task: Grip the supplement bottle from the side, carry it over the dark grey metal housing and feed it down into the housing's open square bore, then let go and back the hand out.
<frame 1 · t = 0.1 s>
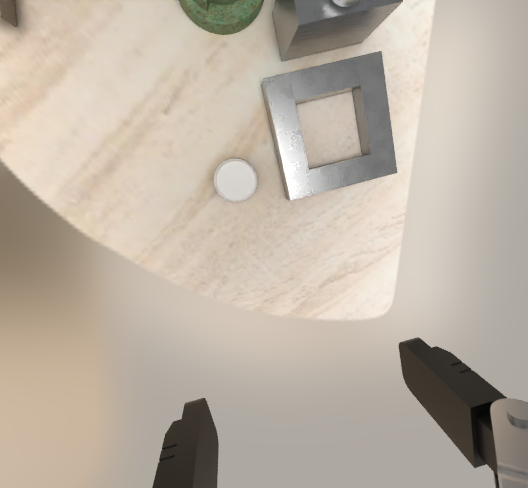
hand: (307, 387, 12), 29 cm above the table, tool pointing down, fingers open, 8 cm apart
supplement bottle: (234, 179, 39), on the table
housing: (327, 131, 38), on the table
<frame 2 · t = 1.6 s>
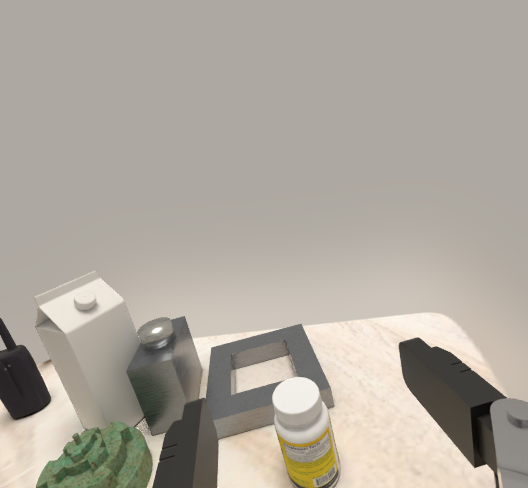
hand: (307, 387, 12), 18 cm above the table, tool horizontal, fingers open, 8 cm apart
supplement bottle: (314, 470, 27), on the table
milk carton: (125, 415, 40), on the table
housing: (265, 380, 40), on the table
two-way radio: (31, 412, 45), on the table
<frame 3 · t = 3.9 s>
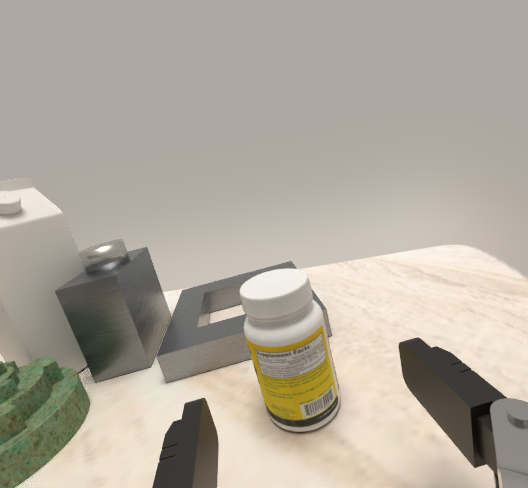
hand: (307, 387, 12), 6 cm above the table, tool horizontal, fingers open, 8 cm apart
decorative artifact: (17, 445, 22), on the table
supplement bottle: (304, 404, 19), on the table
milk carton: (69, 365, 32), on the table
housing: (245, 319, 31), on the table
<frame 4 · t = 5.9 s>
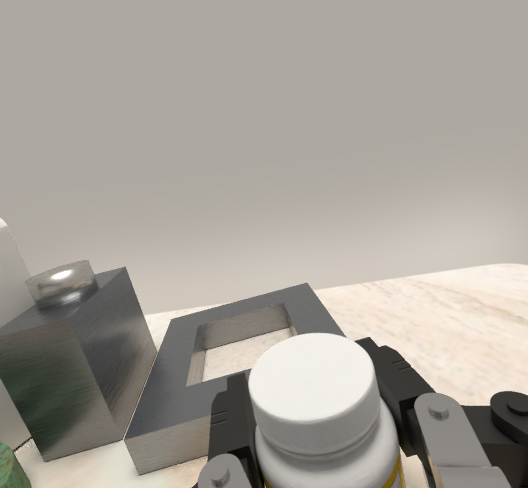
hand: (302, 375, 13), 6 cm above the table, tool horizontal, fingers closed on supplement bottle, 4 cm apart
milk carton: (21, 422, 24), on the table
housing: (251, 364, 24), on the table
when the fingers open (8 cm above the table, at t = 11.1 s): supplement bottle drops 2 cm, resting in housing.
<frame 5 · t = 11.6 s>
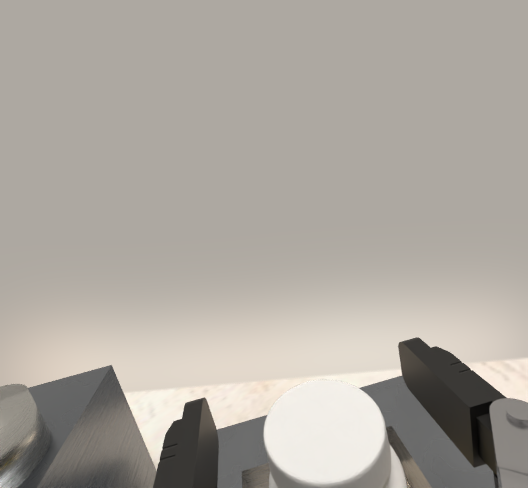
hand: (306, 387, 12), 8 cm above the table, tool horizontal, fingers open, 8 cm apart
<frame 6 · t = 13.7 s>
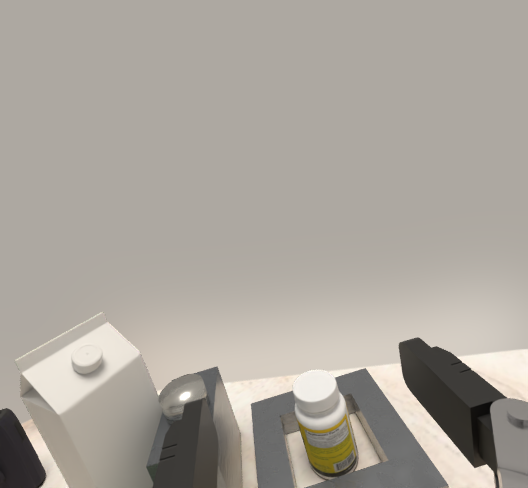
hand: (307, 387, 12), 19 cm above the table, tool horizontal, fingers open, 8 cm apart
supplement bottle: (333, 458, 29), resting in housing
housing: (332, 455, 29), on the table
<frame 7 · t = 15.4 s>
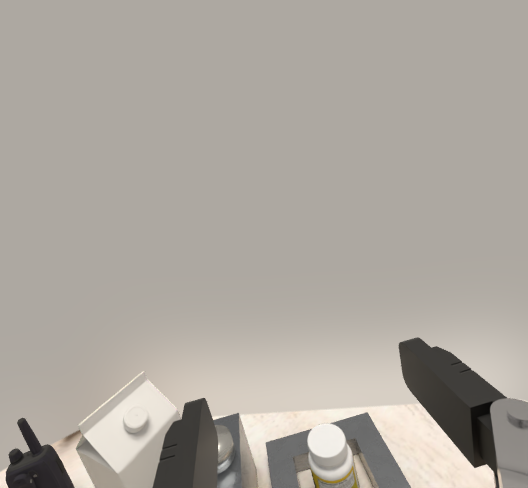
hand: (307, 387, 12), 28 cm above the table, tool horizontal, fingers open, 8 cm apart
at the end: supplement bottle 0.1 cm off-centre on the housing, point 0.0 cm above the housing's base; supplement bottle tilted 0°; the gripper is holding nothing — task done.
